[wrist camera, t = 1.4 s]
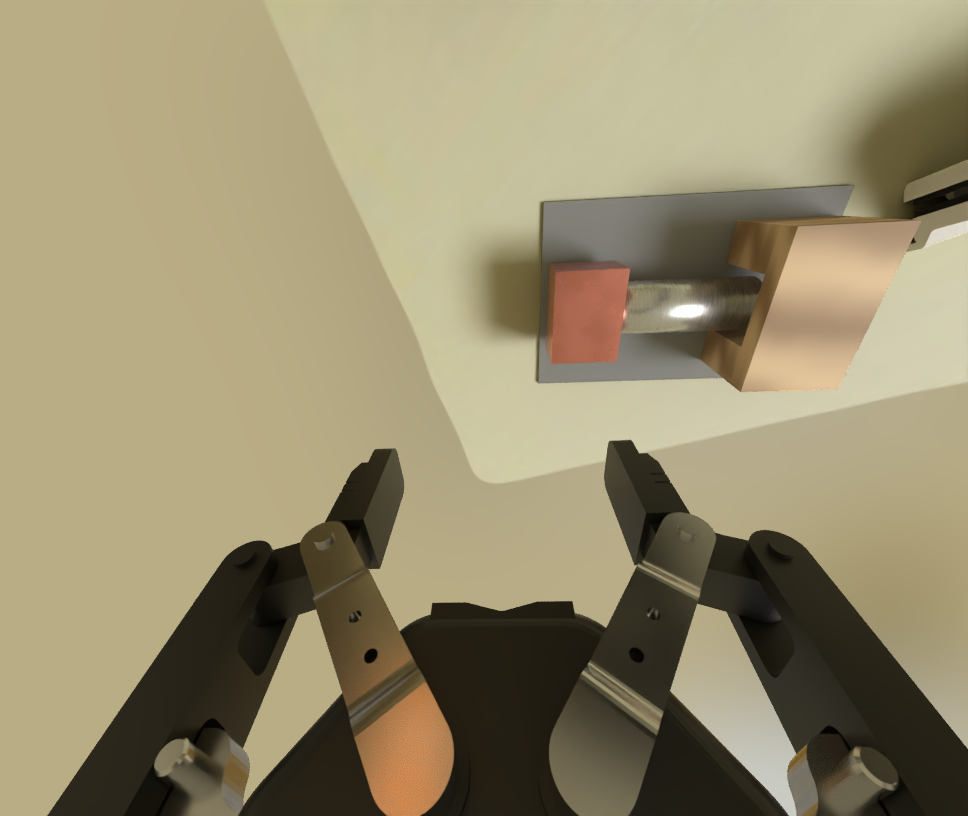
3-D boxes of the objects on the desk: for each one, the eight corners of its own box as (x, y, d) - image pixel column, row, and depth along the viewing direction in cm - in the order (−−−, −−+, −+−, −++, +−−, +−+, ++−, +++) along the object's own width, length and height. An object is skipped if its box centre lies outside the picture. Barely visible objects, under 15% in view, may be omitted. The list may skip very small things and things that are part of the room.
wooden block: (737, 220, 27) (798, 226, 22) (835, 215, 27) (922, 220, 21) (700, 359, 33) (740, 391, 27) (780, 356, 32) (838, 389, 27)
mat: (543, 202, 27) (543, 202, 27) (851, 185, 26) (854, 185, 26) (538, 382, 35) (538, 383, 34) (777, 375, 33) (778, 376, 33)
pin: (544, 343, 32) (551, 363, 28) (547, 261, 29) (555, 271, 25) (720, 336, 31) (752, 357, 27) (744, 252, 28) (785, 261, 24)
